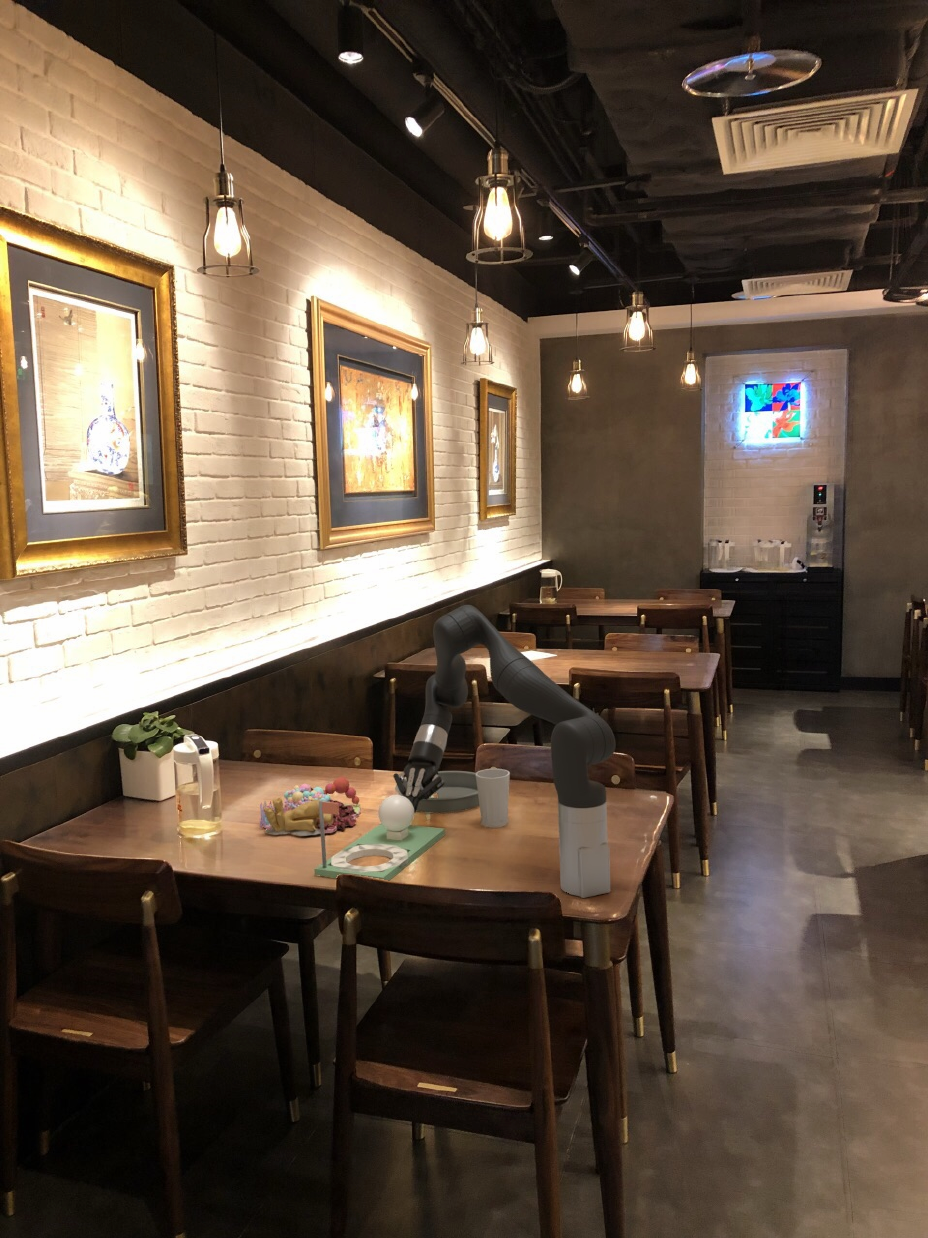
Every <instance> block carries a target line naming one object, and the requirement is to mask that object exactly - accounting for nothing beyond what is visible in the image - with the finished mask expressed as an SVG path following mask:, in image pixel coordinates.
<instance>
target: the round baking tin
mask: <svg viewBox="0 0 928 1238" xmlns="http://www.w3.org/2000/svg"><path fill="white" fill-rule="evenodd" d="M476 773H477V772H472V771H463V770H442V771H441V770H440V771H439V770H438V776H440V777H441V778H442V780H443V781H444V785H443V786H442V787H441V788H440V789H439V790H437V791H436V792H435V793H434V794H436V795H437V797H429V798H428V799H426V800H425V799H422V800H420V801H419V804H418V807H417V810H416V812H420V813H427V814H428V813H429V814H449V813H458V812H462V811H468V810H471V809H475V808H477V807H480V805H479V797H478V788H477V781H476ZM407 783H408V781H407V779H406V778H405V782H404V786H405V788H406V790H407ZM394 789H395V792H396V793H397V794H398V795H401V796H403V795H402V794H401V793H400V791H399V788H398V786H397V784H395V787H394Z"/></svg>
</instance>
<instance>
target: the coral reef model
mask: <svg viewBox="0 0 928 1238" xmlns="http://www.w3.org/2000/svg"><path fill="white" fill-rule="evenodd" d="M335 792H336V793H338V794H344V795H345V797H346V798H348V799H351V803H352V804H349V803H343V802H341V801H338V800H333V799H332V798H331V796H330V795H333V794H335ZM283 796H284V799H285V800H284V802H283V800H282V798H281V797H278V798H274V799H272V801H270V802H269V805H267V802H266V800H264V801H263V803H262V802H261V803H260V805H259V808H260V809H259V810H260V820H259V827H260V826H261V827H260V828H263V827H264V828H266V829H267V830H266V829H265V830H266V831H265V830H264V832H265V834H267V835H273V836H275V835H276V836H277V835H278V836H279V835H287V834H291V835H295V836H300V837H301V836H302V837H305V836H306V837H307V836H317V835H321V831H320V815H319V801H323V802H333V803H338V804H339V815H334V814H324V813H323V816H324V832H325V834H332V833H334V832H337V831H338V830H341V831H345V830H346V827H349V826H350V827H354V826H355V824H356V823H357V817H360V815H361V807H360V806H361V804H360V803H359V802H360V797H358V796H357V791H356V789H355V788H354V787H350V782H349V780H348V778H346V777H343V776H340V777H337V778H335V779H334V780H333V783H331V782H330V783H327V784H326V785H325V788H324V789H323V788H322V787H320V786H316V787H314V788H313V787H311V786H310V784H308V783H302V784H300V786H299V785H297V784H296V785H294V786H293V787H292V790H286V791H285V792H284V795H283ZM272 804H273V805H272ZM262 826H263V827H262ZM264 828H263V829H264Z"/></svg>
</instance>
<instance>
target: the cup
mask: <svg viewBox="0 0 928 1238" xmlns="http://www.w3.org/2000/svg"><path fill="white" fill-rule="evenodd" d="M475 773H476V781H477V788H478V797H479V811H480V813H479V814H480V825H482V826H483V827H486V828H491V829H493V828H495V829H496V828H502V827H505V826H507V825H508V824H509V794H510V793H509V791H510V789H509V788H510V774H511V773H510V771H509V770H507V769H504V768H503V769H502V768H486V769H482V770H478V771H477V772H475Z"/></svg>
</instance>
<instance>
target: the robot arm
mask: <svg viewBox="0 0 928 1238" xmlns="http://www.w3.org/2000/svg"><path fill="white" fill-rule="evenodd" d="M432 628H433V629H432V633H433V634H432V636H433V643H434V651H435V656H436V657H435V658H436V667H435V673H434V674H433V675H431V676H430V677H428V679H427V681H426V684H425V707H424V708H425V709H424V714H423V717H422V720H421V723H420V726H419V729H418V731H417V732H416V734H415V735H416V736H415V738H414V741H413V742H412V743H413V745H412V747H411V750H410V754H409V757H408V762H407V765H406V766H405V767H404V769H403V771H402V772H400V773H397V772H395V773H394V774H393V779H394V781H395V785H397V786H398V788H399V791H400V793H401V794H402V795H403V796H404V797H406V798H407V799H409V800H410V802H411V803H412V805H413V807H414V814H415V813H416V812H417V811H416V810H417V807H418V804H419V801H420V800H422V799H425V800H426V799H428V798H431V797H432V796H433V795H434V794H436V793H435V792H436V791H437V790H439V789H440V788H441V787H442V786H443V785H444V781H443V780H442V778H441V777H440V776H438V772H439V769H440V766H441V762H442V760H443V756H444V754H445V750H446V747H447V743H448V742H447V741H448V736H449V732H450V730H451V727H452V726H451V725H452V723H453V714H452V713H451V712H450V711H449V710H448V709H446V708H444V707H443V706H441V705H444V706H447V707H449V708H455V709H457V708H460V707H462V706H463V705H464V704H465V703H466V701H467V700H468V694H469V689H468V688H469V687H468V683H467V679H466V678H465V675H466V670H467V664H466V661H465V658H464V657H463V656H462V654H464V653H466V652H468V651H469V650H471V649H473V648H474V647H476V646H477V645H483V647H485V648H486V650H487V651H488V655H489V667H490V668H489V672H490V678H491V682H492V685H493V687H494V688H495V690H496V691H497V692H498V693H499V694H501V696H503V697H504V699H505V700H507V701H508V703H510V704H511V705H512V706H513V707H515V708H517V709H518V710H519V711H520V710H521V711H523V712H524V713H527V714H529V715H532V716H535V717H537V718H539V719H542V720H545V721H547V722H550V723H552V724H553V725H555V726H554V728H553V730H552V732H551V736H550V737H551V738H550V754H551V755H550V756H551V765H552V766H551V767H552V778H553V785H554V788H555V791H556V794H557V811H558V814H557V815H558V819H557V820H558V841H559V842H558V843H559V845H558V846H559V848H558V849H559V850H558V851H559V871H560V874H559V878H560V889H561V890H562V891H563V892H564V893H566V892H567V894H568V893H569V895H572V896H575V897H576V896H577V897H580V898H581V899H585V898H589V897H594V896H597V895H602V894H603V895H604V894H607V893H609V894H610V892H611V870H610V868H611V865H610V844H609V843H608V820H607V819H608V817H607V815H608V814H607V812H608V811H607V809H608V808H607V789H606V787H605V785H603V784H602V783H601V782H598V781H596V780H595V781H594V780H592V779H591V780H590V778H589V773H588V766H592V765H593V766H594V765H597V764H600V763H603V762H605V761H607V760H608V759H610V758H611V757H612V756H613V754H614V753H615V751H616V738H615V735H614V733H613V730H612V728H611V727H610V726H609V724H608V723H607V722H606V721H605V720H604V719H603V718H602V717H601V716H600V715H598V714H597V713H596V712H595V711H593V710H591V709H590V708H589V707H587V706H585V705H584V704H583V703H581V702H580V701H578V700H577V699H575V698H574V697H573V696H571V694H569V693H568V692H567V691H566V690H564V689H563V688H562V687H561V686H560V685H558V683H556V682H555V681H554V680H552V679H551V678H550V677H549V676H548V675H547V674H546V673H545V672H543V670H542V669H541V668H539V666H538V665H536V664H535V663H534V662H533V661H531V660H530V659H529V658H528V657H527V656H525V655H524V654H523V653H522V652H521V651H519V650H518V648H516V646H514V645H513V644H512V643H511V642H510V641H509V640H507V638H506V637H504V635H503V634H502V633H501V632H499V630H498V629H497V628H496V626H495V625H493V624H492V623H491V622H490V620H489V618H487V617H486V616H485V615H484V614H483V613H482V612H481V611H480V610H479V609H478V608H477V607H475V606H473V605H472V604H464V605H461V606H458V607H457V608H456V609H453V610H452V611H450V612H448V613H446V614H443V616H440V617H439V618H438V619H436V621H435V622H434V624H433V627H432ZM405 779H407V781H408V783H407V790H406V788H405V786H404V782H405Z"/></svg>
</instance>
